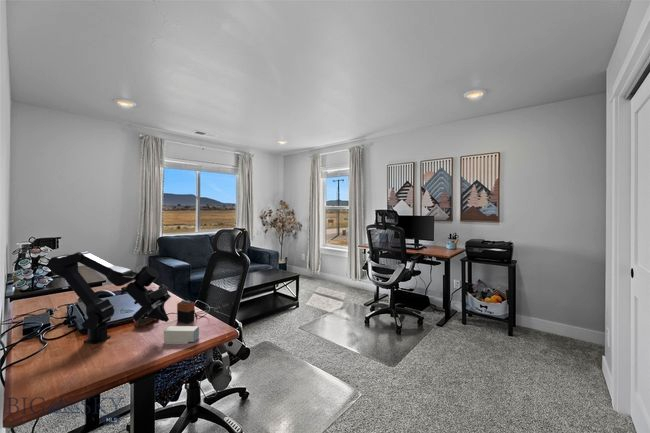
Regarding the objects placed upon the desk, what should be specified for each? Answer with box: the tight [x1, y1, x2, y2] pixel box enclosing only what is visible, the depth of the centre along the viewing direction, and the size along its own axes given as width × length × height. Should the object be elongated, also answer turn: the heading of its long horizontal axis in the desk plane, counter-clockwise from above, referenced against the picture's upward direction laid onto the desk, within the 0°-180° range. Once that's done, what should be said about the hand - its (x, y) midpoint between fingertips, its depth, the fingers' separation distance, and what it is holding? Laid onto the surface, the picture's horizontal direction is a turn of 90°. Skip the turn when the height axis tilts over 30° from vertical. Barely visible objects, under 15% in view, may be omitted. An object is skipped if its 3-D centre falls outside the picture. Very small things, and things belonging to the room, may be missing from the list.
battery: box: [176, 299, 195, 325], centre depth 140 cm, size 4×7×10 cm, turn 69°
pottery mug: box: [135, 313, 160, 328], centre depth 136 cm, size 12×10×8 cm
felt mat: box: [163, 342, 189, 345], centre depth 121 cm, size 9×7×1 cm
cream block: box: [163, 325, 200, 343], centre depth 121 cm, size 4×4×12 cm
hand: (167, 320), depth 120 cm, fingers closed
